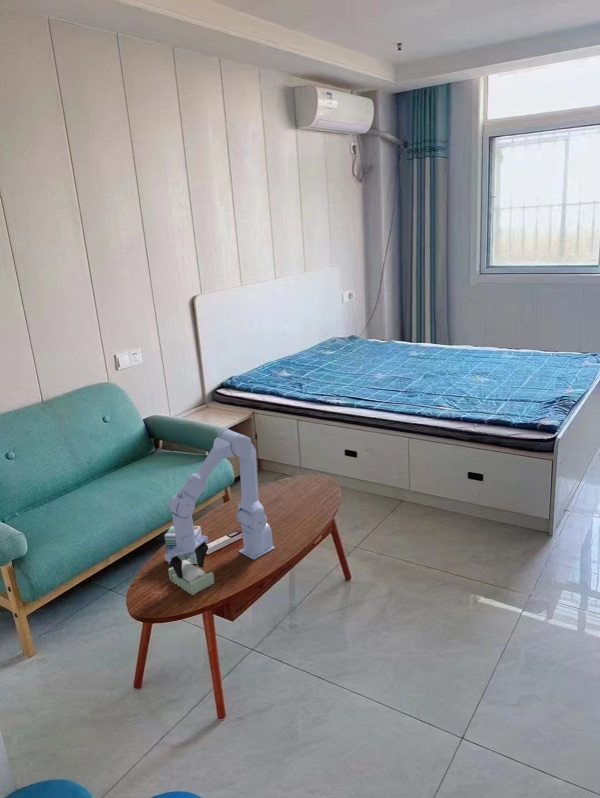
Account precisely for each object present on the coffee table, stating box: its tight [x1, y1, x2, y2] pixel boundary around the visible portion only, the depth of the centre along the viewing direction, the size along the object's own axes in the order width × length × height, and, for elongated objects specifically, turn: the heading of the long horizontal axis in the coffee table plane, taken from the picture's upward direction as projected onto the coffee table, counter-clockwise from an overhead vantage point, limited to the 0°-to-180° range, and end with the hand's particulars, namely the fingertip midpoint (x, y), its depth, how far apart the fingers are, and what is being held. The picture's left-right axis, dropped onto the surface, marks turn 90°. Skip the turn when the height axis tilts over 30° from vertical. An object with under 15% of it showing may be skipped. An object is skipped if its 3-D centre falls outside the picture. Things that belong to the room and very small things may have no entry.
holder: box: [167, 558, 215, 596], centre depth 182 cm, size 13×8×4 cm, turn 44°
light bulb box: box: [164, 525, 203, 565], centre depth 195 cm, size 11×7×11 cm, turn 82°
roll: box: [182, 560, 206, 583], centre depth 182 cm, size 9×5×5 cm, turn 43°
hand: (190, 571), depth 182 cm, fingers open, 7 cm apart
